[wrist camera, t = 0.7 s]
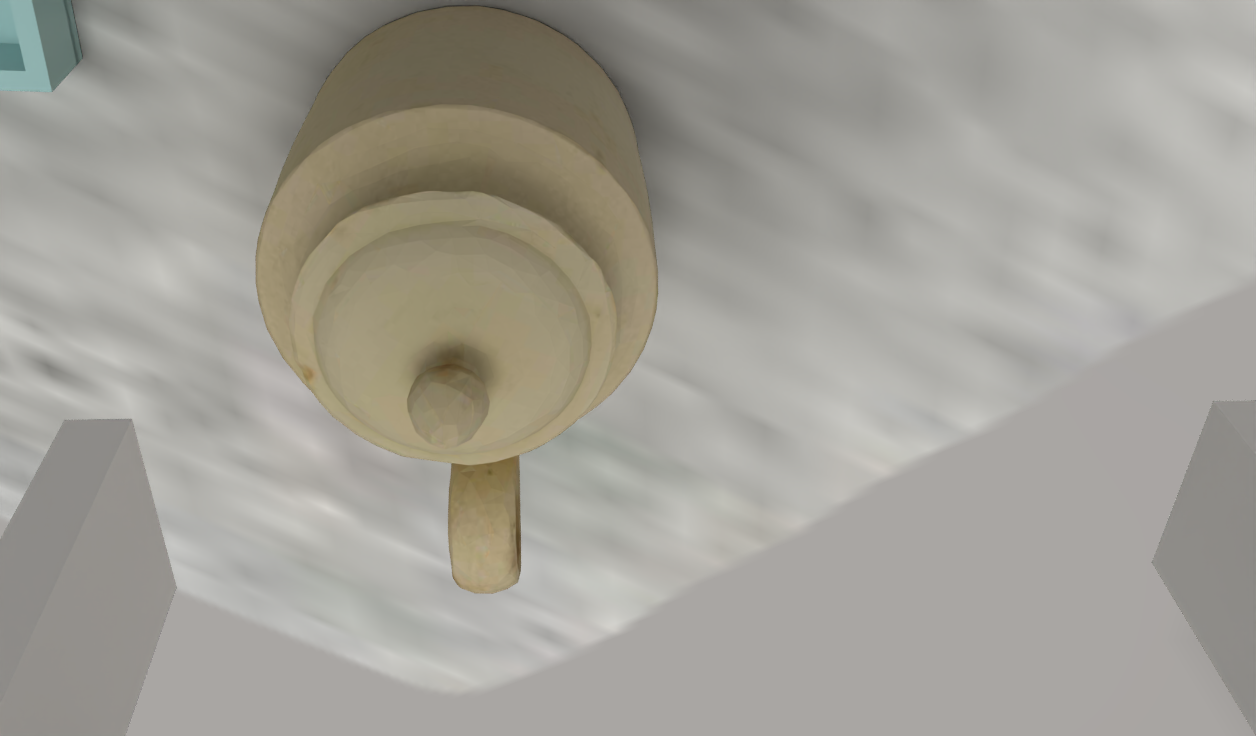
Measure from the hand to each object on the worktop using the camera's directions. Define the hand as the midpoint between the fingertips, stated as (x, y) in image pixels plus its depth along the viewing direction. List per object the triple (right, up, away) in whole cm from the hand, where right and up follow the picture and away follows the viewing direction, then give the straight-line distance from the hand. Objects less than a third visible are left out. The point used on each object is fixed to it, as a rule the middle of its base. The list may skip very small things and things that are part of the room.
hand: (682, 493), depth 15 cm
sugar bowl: (-5, +7, +26) cm, 27 cm away
